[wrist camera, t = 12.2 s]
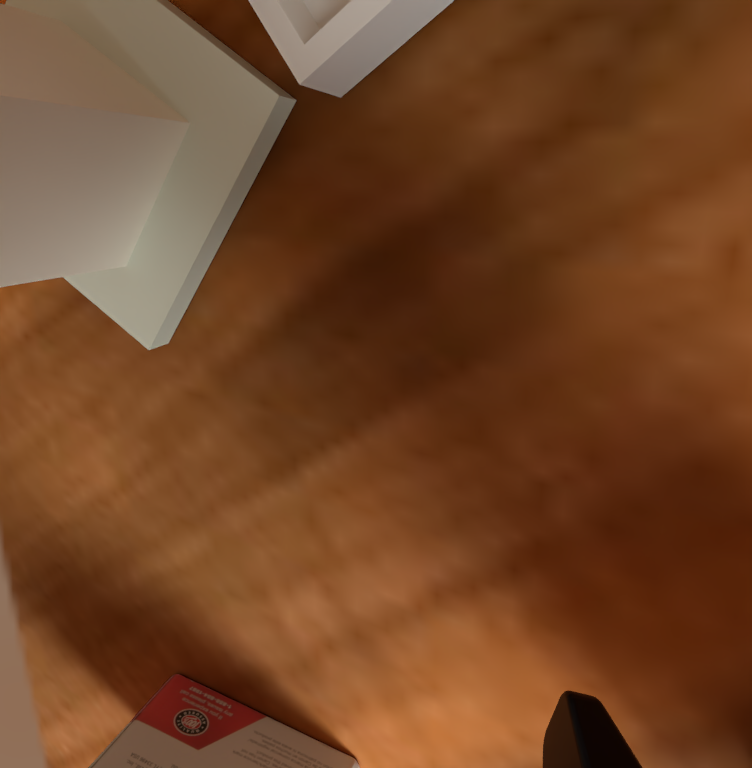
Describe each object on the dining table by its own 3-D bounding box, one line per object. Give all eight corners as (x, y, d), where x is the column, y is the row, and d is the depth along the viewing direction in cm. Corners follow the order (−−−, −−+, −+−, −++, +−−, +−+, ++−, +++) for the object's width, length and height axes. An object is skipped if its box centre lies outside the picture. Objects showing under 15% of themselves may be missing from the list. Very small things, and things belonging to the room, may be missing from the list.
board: (296, 100, 18) (279, 95, 17) (168, 343, 21) (148, 350, 21) (62, -82, 18) (33, -96, 17) (-21, 184, 22) (-47, 184, 21)
